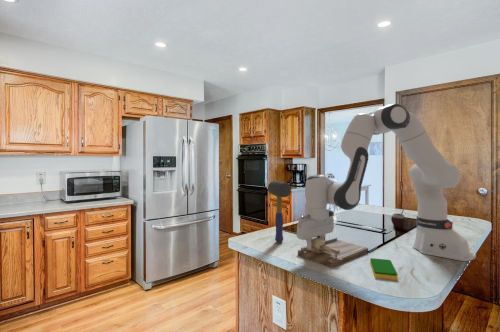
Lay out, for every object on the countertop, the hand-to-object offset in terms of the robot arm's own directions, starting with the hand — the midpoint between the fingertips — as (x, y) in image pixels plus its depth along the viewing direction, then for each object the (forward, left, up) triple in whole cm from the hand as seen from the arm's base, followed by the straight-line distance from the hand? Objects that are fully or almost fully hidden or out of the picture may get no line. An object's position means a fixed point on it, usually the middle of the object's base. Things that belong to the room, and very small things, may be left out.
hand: (315, 246), depth 117 cm
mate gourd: (-1, -74, -4) cm, 74 cm away
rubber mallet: (+23, -1, -4) cm, 23 cm away
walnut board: (-3, -8, -4) cm, 9 cm away
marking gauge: (-4, 0, -2) cm, 4 cm away
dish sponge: (-25, -7, -5) cm, 26 cm away
